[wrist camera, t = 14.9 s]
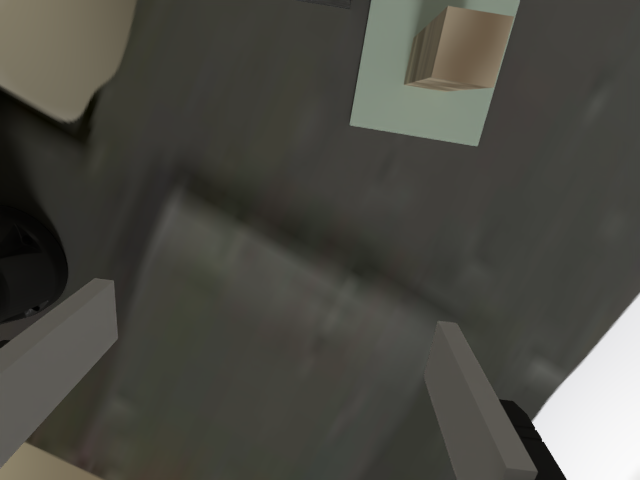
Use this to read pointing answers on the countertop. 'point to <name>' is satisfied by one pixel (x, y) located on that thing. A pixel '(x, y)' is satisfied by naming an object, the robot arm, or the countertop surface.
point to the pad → (390, 70)
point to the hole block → (331, 3)
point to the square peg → (458, 50)
